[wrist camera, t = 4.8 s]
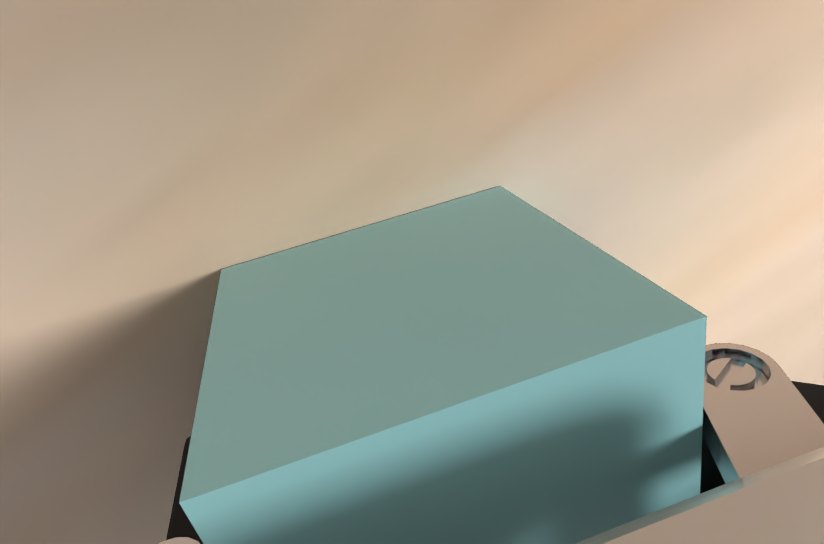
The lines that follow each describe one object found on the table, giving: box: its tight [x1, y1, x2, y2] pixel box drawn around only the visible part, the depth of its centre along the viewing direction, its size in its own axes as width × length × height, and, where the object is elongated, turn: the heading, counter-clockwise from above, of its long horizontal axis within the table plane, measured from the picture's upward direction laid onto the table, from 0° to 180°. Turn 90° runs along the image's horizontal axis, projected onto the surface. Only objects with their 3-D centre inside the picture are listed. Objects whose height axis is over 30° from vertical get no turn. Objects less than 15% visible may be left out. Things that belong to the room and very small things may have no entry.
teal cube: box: [179, 186, 707, 544], centre depth 10 cm, size 6×6×6 cm
